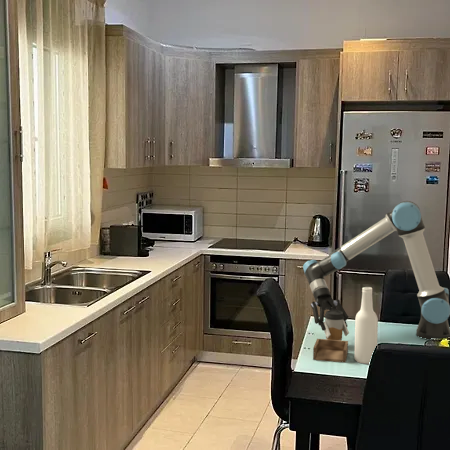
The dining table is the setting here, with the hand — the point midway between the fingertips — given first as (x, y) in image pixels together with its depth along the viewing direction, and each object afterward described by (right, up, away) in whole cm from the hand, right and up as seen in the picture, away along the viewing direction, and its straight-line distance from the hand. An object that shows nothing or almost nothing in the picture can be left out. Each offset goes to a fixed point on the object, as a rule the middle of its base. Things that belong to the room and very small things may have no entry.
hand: (337, 335), depth 255 cm
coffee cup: (-1, -6, +4) cm, 7 cm away
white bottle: (+8, -8, -16) cm, 19 cm away
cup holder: (-5, -7, -10) cm, 13 cm away
